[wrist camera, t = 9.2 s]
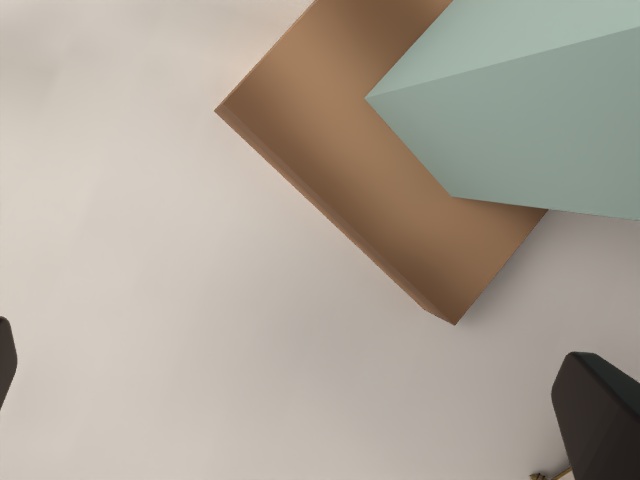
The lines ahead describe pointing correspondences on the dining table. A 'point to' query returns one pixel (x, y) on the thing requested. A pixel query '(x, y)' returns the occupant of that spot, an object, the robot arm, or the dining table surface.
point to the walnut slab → (371, 152)
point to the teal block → (525, 103)
